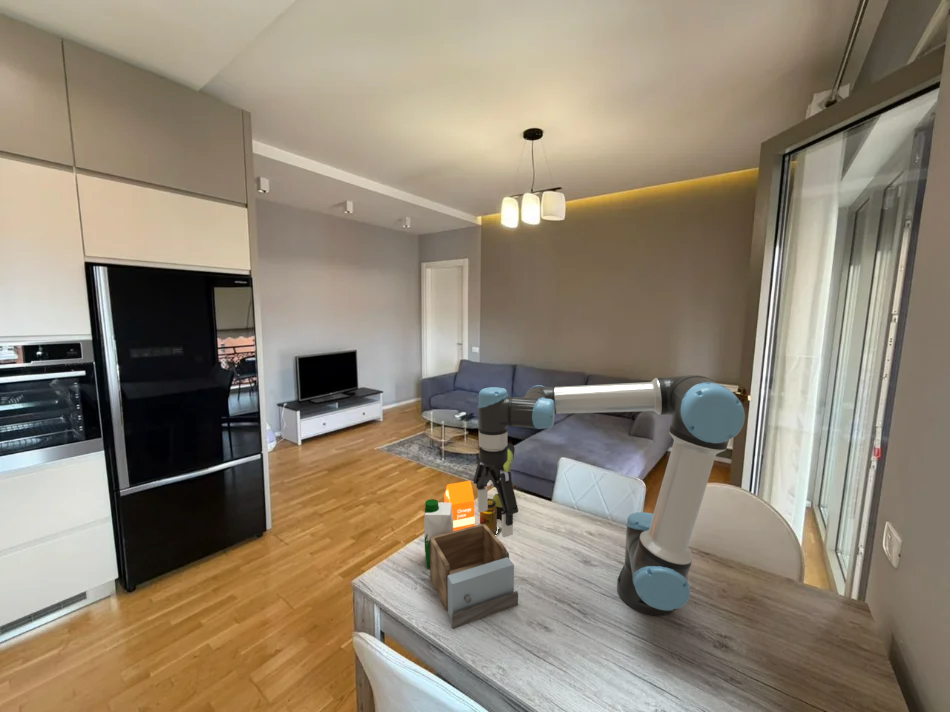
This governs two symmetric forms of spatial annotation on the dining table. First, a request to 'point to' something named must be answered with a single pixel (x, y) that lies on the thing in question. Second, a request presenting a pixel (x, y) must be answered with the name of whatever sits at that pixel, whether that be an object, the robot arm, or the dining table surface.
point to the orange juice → (461, 504)
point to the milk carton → (436, 522)
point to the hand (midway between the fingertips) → (494, 522)
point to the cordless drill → (507, 469)
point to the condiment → (490, 517)
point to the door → (480, 585)
